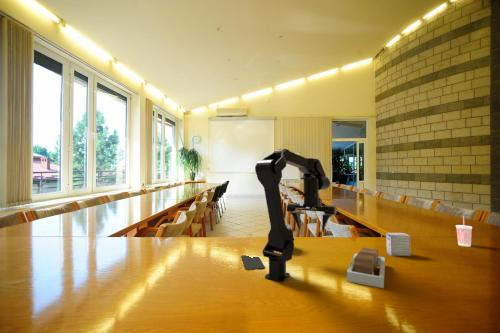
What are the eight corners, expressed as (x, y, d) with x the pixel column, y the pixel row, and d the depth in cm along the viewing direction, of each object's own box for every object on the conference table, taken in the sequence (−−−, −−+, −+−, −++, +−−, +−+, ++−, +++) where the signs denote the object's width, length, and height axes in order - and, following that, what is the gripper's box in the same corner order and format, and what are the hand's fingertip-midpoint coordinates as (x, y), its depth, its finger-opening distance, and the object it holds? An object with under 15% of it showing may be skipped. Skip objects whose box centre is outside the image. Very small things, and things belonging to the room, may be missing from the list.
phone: (245, 269, 89) (240, 255, 104) (245, 271, 89) (240, 257, 104) (265, 267, 91) (257, 254, 105) (265, 270, 91) (257, 256, 105)
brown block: (371, 275, 79) (370, 261, 79) (354, 272, 82) (354, 258, 82) (378, 262, 92) (378, 249, 92) (363, 259, 94) (363, 247, 95)
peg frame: (383, 288, 75) (383, 278, 75) (346, 281, 80) (346, 271, 80) (384, 265, 94) (384, 257, 94) (354, 260, 99) (354, 253, 99)
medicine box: (405, 253, 108) (405, 232, 108) (411, 256, 104) (410, 235, 104) (386, 252, 109) (385, 232, 109) (391, 256, 104) (390, 235, 105)
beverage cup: (453, 244, 121) (452, 215, 122) (460, 242, 124) (459, 214, 124) (468, 247, 116) (467, 217, 116) (475, 246, 118) (474, 216, 119)
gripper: (339, 190, 102) (339, 229, 101) (294, 189, 111) (295, 224, 110) (333, 192, 92) (334, 235, 91) (285, 190, 101) (286, 229, 100)
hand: (311, 230), depth 99 cm, fingers open, 9 cm apart
